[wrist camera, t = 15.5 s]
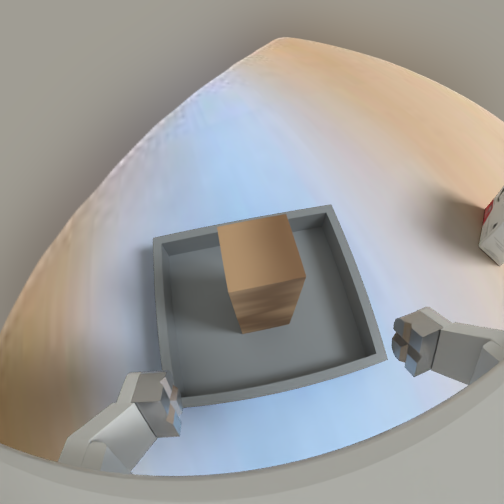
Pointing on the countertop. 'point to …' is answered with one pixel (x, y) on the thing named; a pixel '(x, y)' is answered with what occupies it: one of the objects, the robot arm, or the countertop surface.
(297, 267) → the tan block
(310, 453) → the countertop surface
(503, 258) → the ink box
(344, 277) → the tray
